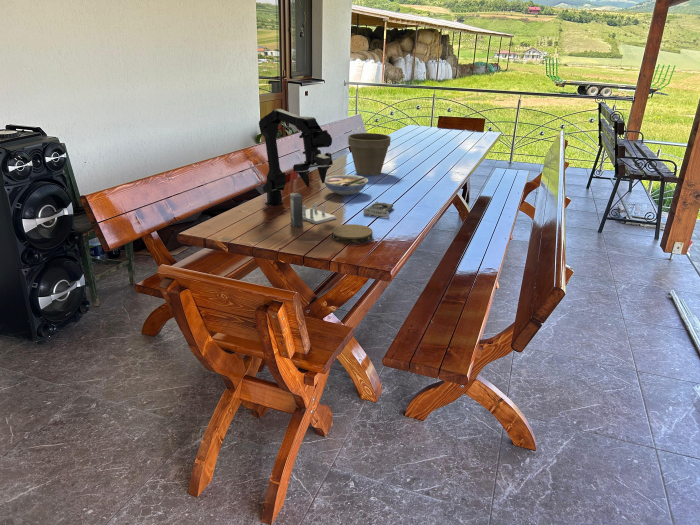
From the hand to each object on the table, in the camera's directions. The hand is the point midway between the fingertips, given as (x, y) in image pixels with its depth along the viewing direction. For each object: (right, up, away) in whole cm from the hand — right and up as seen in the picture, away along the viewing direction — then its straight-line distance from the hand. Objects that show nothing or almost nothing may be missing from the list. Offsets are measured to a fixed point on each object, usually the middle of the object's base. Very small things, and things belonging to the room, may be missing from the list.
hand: (315, 184), depth 226 cm
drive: (-7, -18, -7) cm, 21 cm away
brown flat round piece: (+16, -24, -20) cm, 35 cm away
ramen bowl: (+12, +1, +41) cm, 42 cm away
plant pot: (+26, +20, +86) cm, 92 cm away
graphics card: (+29, -11, +12) cm, 33 cm away
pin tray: (-1, -14, +3) cm, 14 cm away
